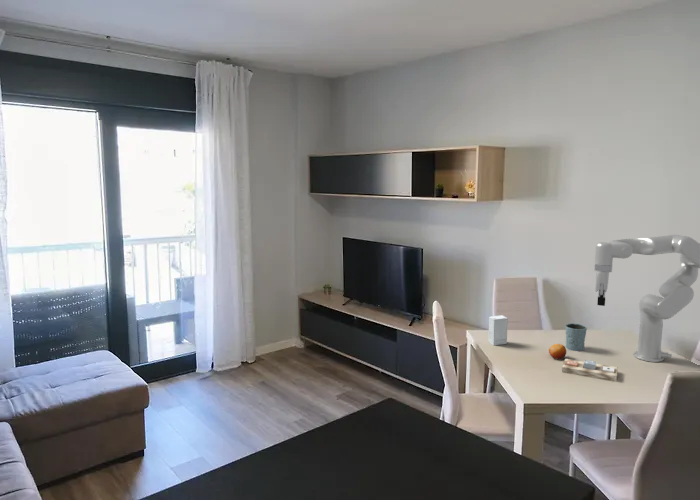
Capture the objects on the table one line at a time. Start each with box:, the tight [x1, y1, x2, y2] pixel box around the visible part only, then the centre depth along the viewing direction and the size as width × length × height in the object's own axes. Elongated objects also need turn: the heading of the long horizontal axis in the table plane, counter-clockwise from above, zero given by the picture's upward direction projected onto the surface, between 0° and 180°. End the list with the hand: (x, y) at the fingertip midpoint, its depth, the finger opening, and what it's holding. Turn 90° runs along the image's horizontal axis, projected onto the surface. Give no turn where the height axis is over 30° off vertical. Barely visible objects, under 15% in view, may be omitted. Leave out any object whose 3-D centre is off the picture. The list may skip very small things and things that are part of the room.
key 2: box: [583, 359, 597, 370], centre depth 223 cm, size 5×5×3 cm
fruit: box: [548, 343, 567, 360], centre depth 241 cm, size 8×8×8 cm
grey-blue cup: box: [565, 322, 588, 352], centre depth 254 cm, size 10×10×12 cm
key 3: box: [566, 360, 578, 367], centre depth 227 cm, size 5×5×3 cm
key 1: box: [602, 366, 614, 373], centre depth 219 cm, size 5×5×3 cm
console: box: [561, 358, 618, 382], centre depth 223 cm, size 22×12×2 cm, turn 59°
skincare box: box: [488, 314, 509, 346], centre depth 262 cm, size 8×6×15 cm
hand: (601, 305), depth 237 cm, fingers closed
